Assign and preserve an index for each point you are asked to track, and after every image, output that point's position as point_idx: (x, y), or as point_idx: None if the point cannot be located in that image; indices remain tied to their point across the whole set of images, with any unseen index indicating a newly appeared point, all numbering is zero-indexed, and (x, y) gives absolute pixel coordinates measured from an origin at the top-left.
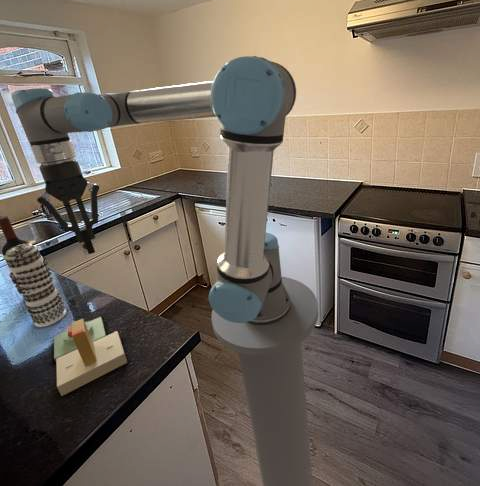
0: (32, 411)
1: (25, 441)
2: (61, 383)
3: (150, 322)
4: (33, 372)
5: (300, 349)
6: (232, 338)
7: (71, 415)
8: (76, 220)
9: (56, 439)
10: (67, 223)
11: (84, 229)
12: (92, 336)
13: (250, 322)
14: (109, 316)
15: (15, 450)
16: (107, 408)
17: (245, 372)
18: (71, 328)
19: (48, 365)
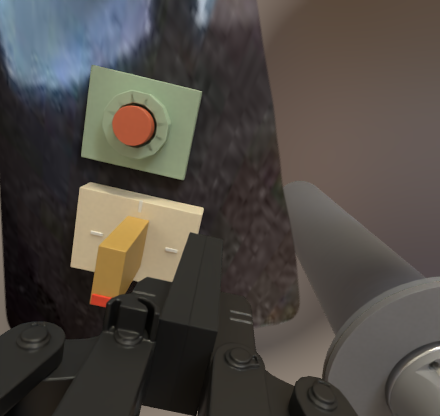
0: (39, 247)
1: (28, 293)
2: (77, 265)
3: (274, 213)
4: (45, 146)
5: None
6: None
7: (87, 304)
8: (135, 396)
9: (64, 324)
10: (31, 383)
11: (181, 398)
12: (161, 156)
13: (386, 397)
14: (220, 95)
15: (17, 296)
16: None
17: (330, 303)
18: (121, 123)
19: (71, 152)
